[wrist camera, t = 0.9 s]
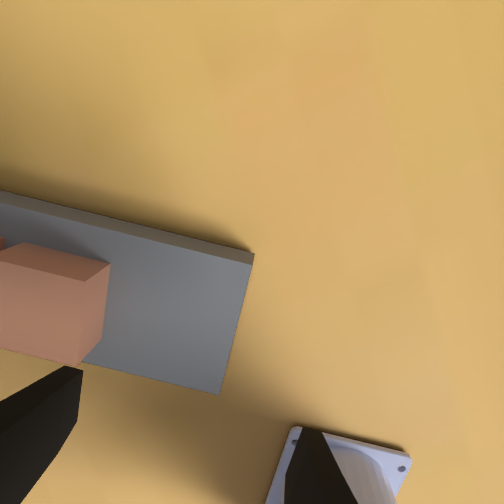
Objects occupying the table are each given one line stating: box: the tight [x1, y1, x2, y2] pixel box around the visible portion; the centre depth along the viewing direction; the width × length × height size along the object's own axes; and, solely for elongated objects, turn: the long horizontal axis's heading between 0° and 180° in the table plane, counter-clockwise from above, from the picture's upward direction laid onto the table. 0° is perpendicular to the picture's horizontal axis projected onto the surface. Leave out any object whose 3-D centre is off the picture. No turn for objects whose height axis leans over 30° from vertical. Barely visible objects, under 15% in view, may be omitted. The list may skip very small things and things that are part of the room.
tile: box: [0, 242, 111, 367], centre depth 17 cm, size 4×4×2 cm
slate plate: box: [0, 190, 255, 395], centre depth 19 cm, size 8×18×2 cm, turn 77°
